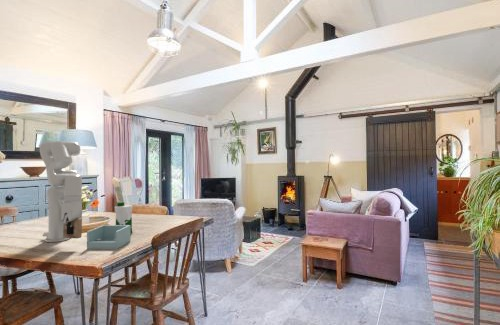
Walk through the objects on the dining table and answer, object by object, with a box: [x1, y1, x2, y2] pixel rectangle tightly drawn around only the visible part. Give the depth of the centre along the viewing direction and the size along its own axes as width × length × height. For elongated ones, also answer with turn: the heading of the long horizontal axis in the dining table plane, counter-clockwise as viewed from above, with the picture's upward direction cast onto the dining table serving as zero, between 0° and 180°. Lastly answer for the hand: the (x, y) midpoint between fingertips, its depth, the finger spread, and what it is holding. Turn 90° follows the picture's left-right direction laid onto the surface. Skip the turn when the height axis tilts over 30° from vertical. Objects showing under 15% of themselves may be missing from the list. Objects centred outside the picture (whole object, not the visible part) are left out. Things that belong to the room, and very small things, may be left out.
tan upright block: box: [63, 218, 83, 240], centre depth 141 cm, size 8×3×10 cm, turn 89°
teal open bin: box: [86, 224, 132, 250], centre depth 148 cm, size 16×15×9 cm
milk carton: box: [114, 201, 134, 234], centre depth 170 cm, size 9×9×20 cm
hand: (72, 232), depth 141 cm, fingers closed on tan upright block, 2 cm apart
